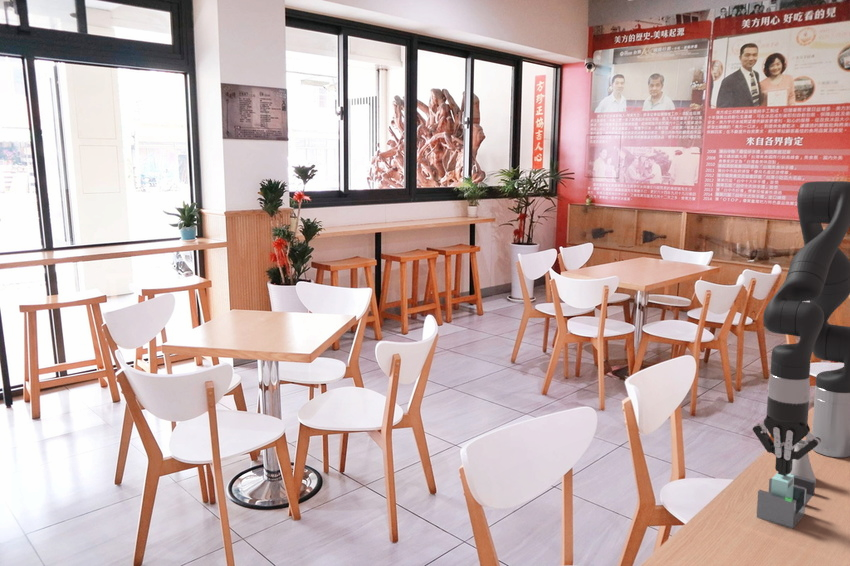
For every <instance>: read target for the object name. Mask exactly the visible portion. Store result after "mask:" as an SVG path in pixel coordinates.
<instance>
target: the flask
mask: <svg viewBox="0 0 850 566" xmlns="http://www.w3.org/2000/svg"><path fill="white" fill-rule="evenodd" d="M805 440H806V439H802V440H800V441H799V442H798V443H797V444H796V446H795V451H798V450H800V449H801V448H802V447H804V446H805V445H806V443H805ZM809 456H810V455H809V452H808V453H807V454H805V455H804V456H803V457H802V458H800V459H799V460H796V459H793V464H792V471H791V472H790V473H789V474H792V475H796V476H800V477H803V478H807V479H810V480H814V481H815V486H816V485H817V478H816V476H815V475H816V474H815V473H814V471H813V467H812V463H811V461H810V457H809Z"/></svg>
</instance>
